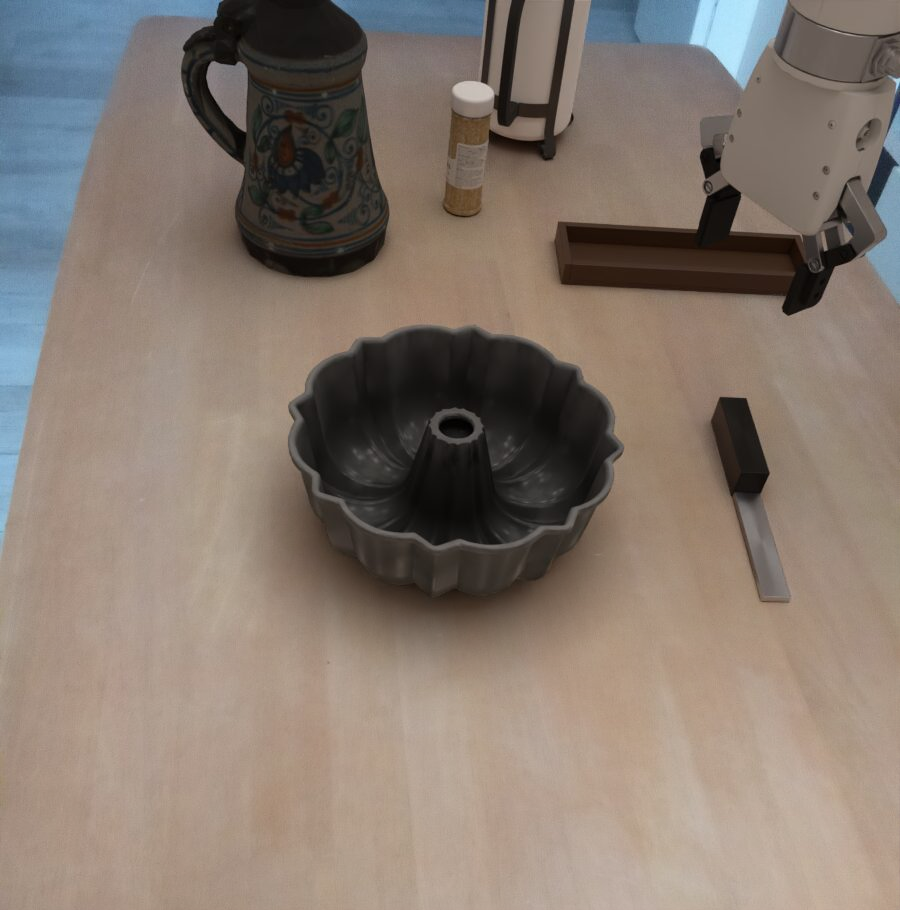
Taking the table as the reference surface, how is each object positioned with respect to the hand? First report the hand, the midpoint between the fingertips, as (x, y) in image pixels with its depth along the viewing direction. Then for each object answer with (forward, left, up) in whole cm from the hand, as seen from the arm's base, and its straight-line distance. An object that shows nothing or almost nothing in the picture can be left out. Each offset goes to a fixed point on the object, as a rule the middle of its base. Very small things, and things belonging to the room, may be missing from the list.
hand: (752, 274), depth 78 cm
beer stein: (+37, -33, -20) cm, 54 cm away
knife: (-5, +5, -20) cm, 21 cm away
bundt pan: (+22, +7, -20) cm, 31 cm away
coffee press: (+11, -58, -20) cm, 62 cm away
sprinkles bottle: (+19, -41, -20) cm, 50 cm away
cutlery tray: (-5, -31, -20) cm, 37 cm away
